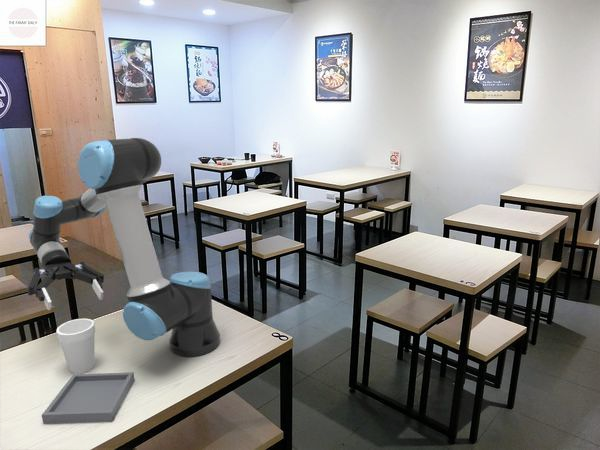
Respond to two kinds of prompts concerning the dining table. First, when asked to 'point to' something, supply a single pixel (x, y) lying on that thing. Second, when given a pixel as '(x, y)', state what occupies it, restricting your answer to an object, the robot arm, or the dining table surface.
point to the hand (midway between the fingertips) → (76, 300)
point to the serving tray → (89, 398)
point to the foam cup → (78, 344)
